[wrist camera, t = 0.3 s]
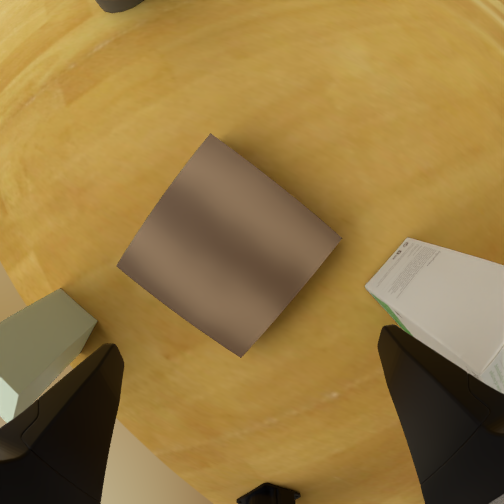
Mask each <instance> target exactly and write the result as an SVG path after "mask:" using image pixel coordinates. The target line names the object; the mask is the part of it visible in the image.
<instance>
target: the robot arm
mask: <svg viewBox="0 0 504 504" xmlns="http://www.w3.org/2000/svg"><path fill="white" fill-rule="evenodd" d="M378 352H379V356H380V359H381V363H382V367H383V371H384V375H385V379H386V382H387V386H388V389H389V392H390V394H391V397H392V400H393V403H394V405H395V408H396V411H397V414H398V416H399V419H400V422H401V425H402V428H403V431H404V434H405V437H406V440H407V443H408V446H409V449H410V452H411V455H412V458H413V462H414V465H415V468H416V472H417V475H418V478H419V482H420V484H421V489H422V493H423V497H424V500H425V504H504V394H503V393H501V392H499V391H497V390H496V389H494V388H492V387H490V386H488V385H487V384H485V383H484V382H482V381H480V380H479V379H477V378H476V377H474V376H473V375H471V374H470V373H468V374H467V372H466V371H465V370H463V369H462V368H460V367H459V366H457V365H456V364H454V363H453V362H451V361H450V360H448V359H447V358H445V357H444V356H442V355H441V354H439V353H438V352H436V351H435V350H433V349H431V348H430V347H428V346H427V345H425V344H424V343H422V342H421V341H419V340H418V339H416V338H415V337H413V336H411V335H410V334H408V333H407V332H405V331H404V330H402V329H401V328H399V327H398V326H396V325H393V324H392V325H386V326H383V328H382V330H381V333H380V337H379V341H378ZM123 371H124V361H123V358H122V356H121V354H120V352H119V350H118V347H117V346H116V345H115V344H108V343H106V344H103V345H102V346H101V347H100V348H98V349H97V350H96V351H95V352H94V353H92V354H91V355H90V356H89V357H87V358H86V359H85V360H84V361H83V362H81V363H80V364H79V365H78V366H77V367H75V368H74V369H73V370H72V371H71V372H69V373H68V374H67V375H66V376H65V377H63V378H62V379H61V380H60V381H59V382H58V383H56V384H55V385H54V386H53V387H52V388H50V389H49V390H48V391H47V392H46V393H45V394H43V395H42V396H41V397H40V398H39V399H38V400H36V401H35V402H34V403H33V404H32V405H30V406H29V407H28V408H27V409H25V410H24V411H23V412H22V413H20V414H19V415H18V416H16V417H15V418H14V419H12V420H11V421H9V422H8V423H7V424H5V425H4V426H2V427H1V428H0V504H101V503H100V502H101V496H102V489H103V483H104V476H105V470H106V465H107V459H108V454H109V448H110V443H111V438H112V434H113V429H114V424H115V420H116V415H117V411H118V406H119V401H120V394H121V386H122V378H123ZM299 497H300V493H297V492H294V491H290V490H287V489H284V488H281V487H278V486H275V485H272V484H269V483H264V484H262V485H260V486H259V487H257V488H255V489H254V490H252V491H250V492H249V493H247V494H245V495H244V496H242V497H240V498H238V499H237V503H238V504H296V503H295V500H296V499H297V498H299Z"/></svg>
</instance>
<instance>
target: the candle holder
mask: <svg viewBox="0 0 504 504" xmlns="http://www.w3.org/2000/svg"><path fill="white" fill-rule="evenodd" d="M95 1H96V2H97V3H98V4H99V6H100V7H101V8H102V9H103V10H104V11H106V12H110V13H116V12H122V11H125V10H127V9H130V8H132V7H135V6H136V5H137V4H139V3H141V2H142V1H144V0H95Z"/></svg>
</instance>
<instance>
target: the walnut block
mask: <svg viewBox="0 0 504 504" xmlns="http://www.w3.org/2000/svg"><path fill="white" fill-rule="evenodd" d="M341 239H342V237H340V236H339V235H338V234H337V233H336V232H335V231H334V230H332V229H331V228H330V227H329V226H328V225H327V224H325V223H324V222H323V221H322V220H321V219H319V218H318V217H317V216H316V215H315V214H314V213H312V212H311V211H310V210H309V209H308V208H306V207H305V206H304V205H303V204H302V203H300V202H299V201H298V200H297V199H295V198H294V197H293V196H292V195H291V194H289V193H288V192H287V191H286V190H284V189H283V188H282V187H281V186H279V185H278V184H277V183H276V182H274V181H273V180H272V179H271V178H269V177H268V176H267V175H265V174H264V173H263V172H262V171H260V170H259V169H258V168H256V167H255V166H254V165H253V164H251V163H250V162H249V161H247V160H246V159H245V158H243V157H242V156H241V155H239V154H238V153H237V152H235V151H234V150H233V149H231V148H230V147H229V146H227V145H226V144H225V143H223V142H222V141H220V140H219V139H218V138H216V137H215V136H214V135H212V134H211V133H210V135H209V136H208V137H207V138H206V139H205V141H204V142H203V143H202V144H201V146H200V147H199V148H198V149H197V151H196V152H195V153H194V155H193V156H192V157H191V158H190V160H189V161H188V162H187V164H186V165H185V166H184V167H183V169H182V170H181V171H180V173H179V174H178V175H177V177H176V178H175V179H174V181H173V182H172V184H171V185H170V186H169V188H168V189H167V190H166V192H165V193H164V195H163V196H162V197H161V199H160V200H159V202H158V203H157V204H156V206H155V207H154V209H153V210H152V212H151V213H150V215H149V216H148V217H147V219H146V220H145V222H144V223H143V225H142V226H141V228H140V229H139V231H138V232H137V234H136V235H135V237H134V239H133V240H132V242H131V243H130V245H129V246H128V248H127V249H126V251H125V253H124V254H123V256H122V257H121V259H120V261H119V262H118V264H117V267H118V268H119V269H120V270H122V271H123V272H124V273H125V274H127V275H128V276H129V277H130V278H131V279H133V280H134V281H135V282H136V283H138V284H139V285H140V286H141V287H143V288H144V289H145V290H147V291H148V292H149V293H150V294H152V295H153V296H154V297H156V298H157V299H158V300H159V301H161V302H162V303H163V304H165V305H166V306H167V307H169V308H170V309H171V310H173V311H174V312H175V313H177V314H178V315H180V316H181V317H182V318H184V319H185V320H186V321H188V322H189V323H191V324H192V325H193V326H195V327H196V328H198V329H199V330H200V331H202V332H203V333H205V334H206V335H208V336H209V337H210V338H212V339H213V340H215V341H216V342H218V343H219V344H221V345H222V346H224V347H225V348H227V349H228V350H230V351H231V352H233V353H234V354H236V355H237V356H239V357H240V358H241V357H242V356H243V355H244V354H245V353H246V352H247V351H248V350H249V349H250V348H251V346H252V345H253V344H254V343H255V342H256V341H257V340H258V339H259V337H260V336H261V335H262V334H263V333H264V332H265V331H266V330H267V328H268V327H269V326H270V325H271V324H272V323H273V322H274V320H275V319H276V318H277V317H278V316H279V315H280V314H281V312H282V311H283V310H284V309H285V308H286V307H287V305H288V304H289V303H290V302H291V301H292V299H293V298H294V297H295V296H296V295H297V294H298V292H299V291H300V290H301V289H302V288H303V286H304V285H305V284H306V283H307V282H308V280H309V279H310V278H311V277H312V275H313V274H314V273H315V272H316V271H317V269H318V268H319V267H320V266H321V264H322V263H323V262H324V261H325V259H326V258H327V257H328V256H329V254H330V253H331V252H332V251H333V249H334V248H335V247H336V246H337V244H338V243H339V242H340V240H341Z"/></svg>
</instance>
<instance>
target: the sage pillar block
mask: <svg viewBox="0 0 504 504" xmlns="http://www.w3.org/2000/svg"><path fill="white" fill-rule="evenodd" d="M96 323H97V320H96V319H95V318H93V317H92V316H91V315H90V314H89V313H87V312H86V311H85V310H84V309H83V308H82V307H81V306H79V305H78V304H77V303H76V302H75V301H74V300H73V299H72V298H71V297H70V296H68V295H67V294H66V293H65V292H64V291H63V290H62V289H61V288H60V289H58V290H56V291H54V292H53V293H51V294H49V295H47V296H45V297H44V298H42V299H40V300H38V301H36V302H35V303H33V304H31V305H29V306H27V307H26V308H24V309H23V310H20V311H19V312H17V313H15V314H14V315H12V316H10V317H8V318H7V319H5V320H3V321H2V322H0V417H1V418H2V419H3V420H5V421H6V422H7V423H8V422H9V421H11V420H12V419H14V418H15V417H16V416H18V415H19V414H20V413H22V412H23V411H24V410H25V409H27V408H28V407H29V406H30V405H31V404H32V403H33V402H34V401H35V400H36V399H37V398H38V397H39V396H40V395H41V394H42V392H43V391H44V390H45V389H46V388H47V387H48V386H49V385H50V384H51V383H52V382H53V381H54V380H55V378H57V376H58V375H59V374H60V373H61V372H62V371H63V370H64V369H65V368H66V367H67V366H68V365H69V364H70V363H71V362H72V361H73V360H74V359H75V358H76V357H77V356H78V355H79V354H80V352H81V350H82V348H83V347H84V345H85V343H86V341H87V339H88V337H89V335H90V334H91V332H92V330H93V328H94V326H95V325H96Z"/></svg>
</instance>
